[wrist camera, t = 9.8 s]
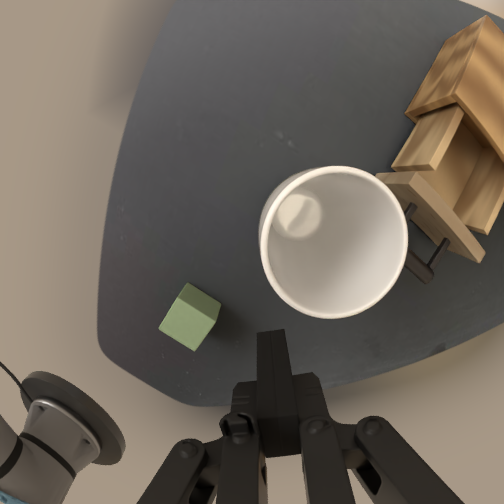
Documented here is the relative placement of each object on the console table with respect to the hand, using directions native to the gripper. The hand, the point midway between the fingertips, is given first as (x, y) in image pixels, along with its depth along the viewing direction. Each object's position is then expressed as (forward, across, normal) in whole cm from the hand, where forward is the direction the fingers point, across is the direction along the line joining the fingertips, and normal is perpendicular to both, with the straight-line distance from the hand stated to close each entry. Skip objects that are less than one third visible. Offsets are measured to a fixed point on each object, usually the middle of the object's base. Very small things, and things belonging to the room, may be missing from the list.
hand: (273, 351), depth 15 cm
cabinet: (+12, +26, +16) cm, 33 cm away
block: (+12, -8, -2) cm, 15 cm away
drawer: (+12, +18, +8) cm, 23 cm away
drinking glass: (+13, +4, +6) cm, 14 cm away
